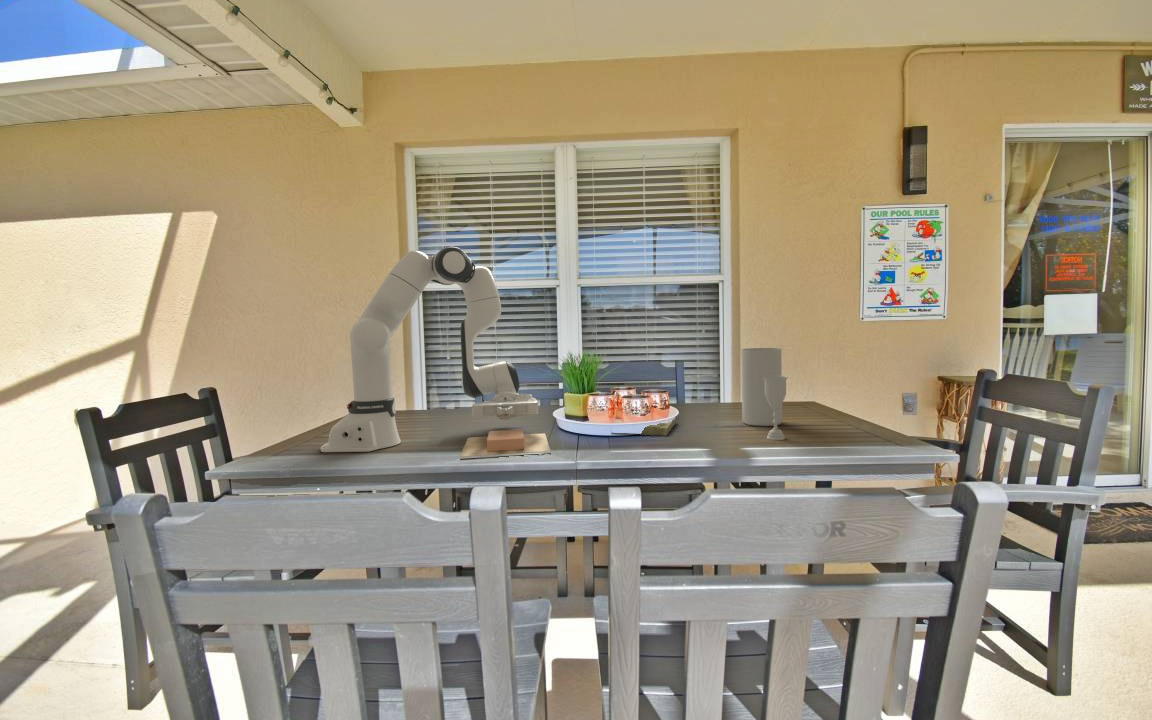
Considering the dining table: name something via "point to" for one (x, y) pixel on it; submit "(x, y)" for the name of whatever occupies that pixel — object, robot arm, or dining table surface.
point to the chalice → (775, 400)
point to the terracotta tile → (505, 440)
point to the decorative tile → (658, 428)
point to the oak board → (479, 447)
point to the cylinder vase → (759, 385)
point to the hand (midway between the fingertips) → (505, 411)
